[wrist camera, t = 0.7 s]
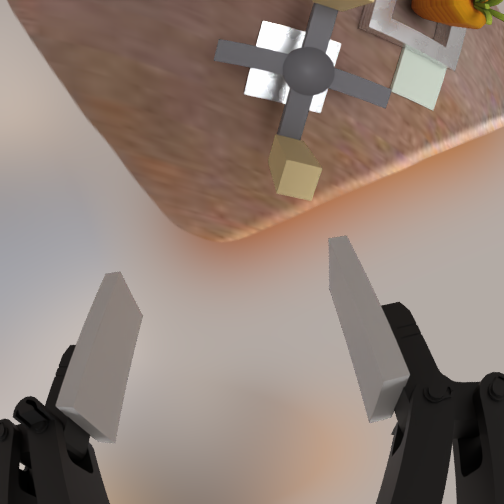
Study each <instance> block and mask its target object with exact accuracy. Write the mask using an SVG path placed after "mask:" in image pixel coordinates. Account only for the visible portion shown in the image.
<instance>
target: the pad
mask: <svg viewBox="0 0 504 504" xmlns="http://www.w3.org/2000/svg"><path fill="white" fill-rule="evenodd" d="M445 73H446V69H444V68H442V67H440V66H438V65H437V64H435V63H433V62H431V61H429V60H428V59H426V58H424V57H422V56H420V55H418V54H416V53H414V52H412V51H410V50H408V49H406V48H402V51H401V55H400V58H399V61H398V64H397V68H396V71H395V74H394V77H393V80H392V84H391V87H390V89H391V90H392V91H391V92H394V93H396V94H398V95H401V96H403V97H405V98H407V99H409V100H412V101H414V102H416V103H418V104H420V105H422V106H424V107H426V108H428V109H430V110H433V109H434V106H435V104H436V101H437V98H438V95H439V92H440V89H441V85H442V82H443V79H444V76H445Z"/></svg>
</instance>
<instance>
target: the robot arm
mask: <svg viewBox="0 0 504 504" xmlns="http://www.w3.org/2000/svg"><path fill="white" fill-rule="evenodd" d="M328 241H329V290H330V292H331V295H332V298H333V301H334V305H335V308H336V311H337V314H338V317H339V320H340V324H341V327H342V330H343V333H344V336H345V339H346V342H347V346H348V349H349V353H350V356H351V359H352V363H353V366H354V370H355V373H356V376H357V380H358V383H359V387H360V391H361V394H362V398H363V401H364V405H365V409H366V412H367V416H368V420H369V423H372V422H376V421H379V420H384V419H388V418H391V417H392V415H393V413H394V411H395V414H396V417H397V420H398V422H397V424H396V426H395V428H394V429H393V432H392V435H394V438H393V442H392V446H391V451H390V455H389V459H388V463H387V467H386V471H385V474H384V478H383V482H382V486H381V489H380V492H379V495H378V499H377V502H376V504H442V499H443V495H444V490H445V485H446V480H447V474H448V468H449V462H450V455H451V448H452V443H453V452H454V463H455V476H456V493H457V504H504V374H502V373H500V372H492V373H490V374H487V375H486V376H485V377H484V378H483V379H482V381H481V382H454V381H452V380H450V379H449V378H448V377H446V376H445V375H443V374H442V373H441V372H440V371H439V369H438V368H437V366H436V363H435V361H434V359H433V357H432V355H431V353H430V350H429V349H428V346H427V344H426V342H425V340H424V338H423V336H422V335H421V332H420V330H419V328H418V326H417V325H416V322H415V320H414V318H413V316H412V314H411V312H410V311H409V310H408V309H407V308H406V307H405V306H404V305H403V304H401V303H400V302H396V303H392V304H387V305H382V306H381V305H380V303H379V301H378V298H377V296H376V294H375V292H374V290H373V288H372V286H371V284H370V281H369V279H368V277H367V275H366V273H365V271H364V269H363V267H362V265H361V263H360V261H359V259H358V257H357V255H356V253H355V251H354V249H353V247H352V245H351V243H350V241H349V239H348V237H347V236H340V237H334V238H329V240H328ZM142 317H143V315H142V313H141V311H140V309H139V307H138V306H137V304H136V302H135V300H134V298H133V296H132V294H131V292H130V290H129V288H128V286H127V284H126V282H125V280H124V278H123V276H122V274H121V272H114V273H108V274H105V277H104V279H103V281H102V283H101V285H100V288H99V290H98V292H97V295H96V297H95V299H94V302H93V304H92V307H91V309H90V312H89V314H88V316H87V319H86V321H85V323H84V326H83V328H82V331H81V334H80V336H79V339H78V341H77V344H76V345H70V346H69V348H68V349H67V350H66V352H65V353H64V354H63V356H62V358H61V361H60V364H59V368H58V369H57V372H56V377H55V378H54V381H53V383H52V386H51V389H50V392H49V395H48V398H47V401H46V404H45V406H44V405H43V404H42V403H41V402H40V401H38V400H37V399H36V398H35V397H32V396H30V397H25V398H24V399H22V400H20V402H19V403H18V404H17V406H16V407H15V410H14V413H13V418H15V419H16V420H17V421H18V422H20V423H21V424H19V425H14V424H13V423H12V422H11V421H10V420H8V419H2V420H0V504H110V503H109V500H108V497H107V494H106V491H105V488H104V484H103V481H102V478H101V474H100V471H99V467H98V463H97V460H96V456H95V452H94V449H93V447H92V445H91V444H90V443H89V438H90V436H92V437H93V438H94V439H95V440H97V441H98V442H105V443H115V442H116V436H117V430H118V425H119V419H120V414H121V409H122V404H123V399H124V394H125V389H126V384H127V380H128V375H129V371H130V367H131V362H132V358H133V354H134V349H135V345H136V341H137V337H138V333H139V329H140V325H141V321H142ZM19 463H22V464H23V465H25V469H24V470H21V469H19Z"/></svg>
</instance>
